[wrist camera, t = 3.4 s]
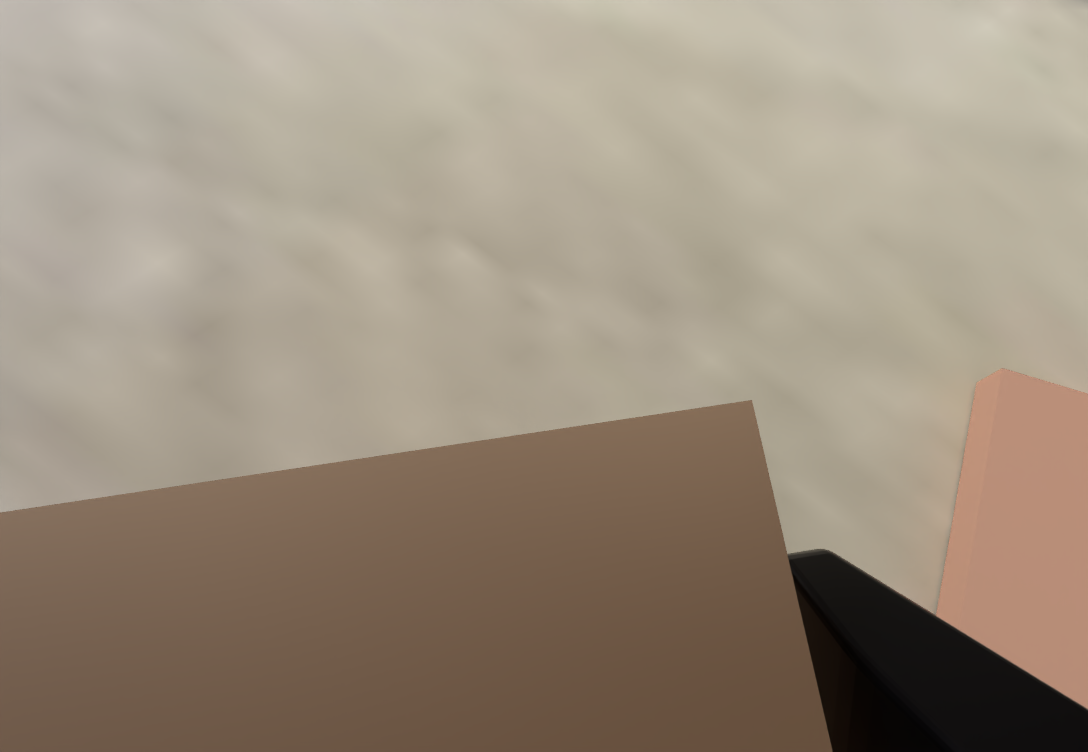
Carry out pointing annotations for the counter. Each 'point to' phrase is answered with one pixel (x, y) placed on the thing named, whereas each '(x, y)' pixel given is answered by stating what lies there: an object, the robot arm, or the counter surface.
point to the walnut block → (422, 604)
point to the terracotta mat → (1024, 530)
